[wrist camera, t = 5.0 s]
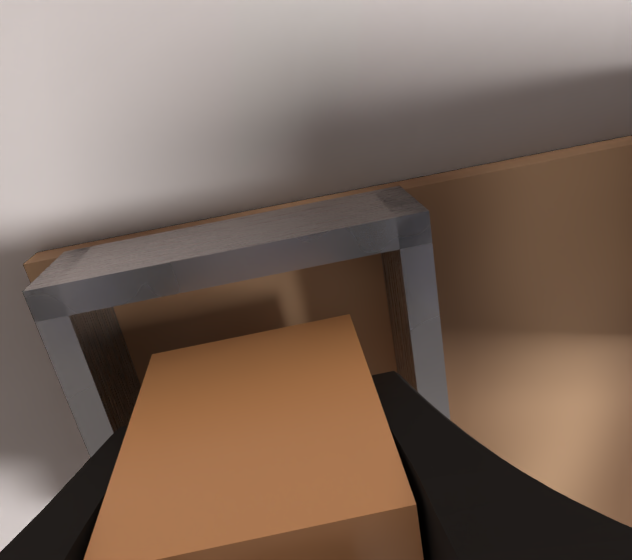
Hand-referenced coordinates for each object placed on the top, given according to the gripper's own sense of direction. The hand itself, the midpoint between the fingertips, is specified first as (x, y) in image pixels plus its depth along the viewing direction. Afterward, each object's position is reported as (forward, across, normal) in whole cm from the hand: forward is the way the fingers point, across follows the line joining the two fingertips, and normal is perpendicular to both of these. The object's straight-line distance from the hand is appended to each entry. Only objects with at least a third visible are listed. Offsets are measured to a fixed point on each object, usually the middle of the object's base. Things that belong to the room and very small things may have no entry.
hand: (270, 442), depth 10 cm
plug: (+1, 0, 0) cm, 1 cm away
